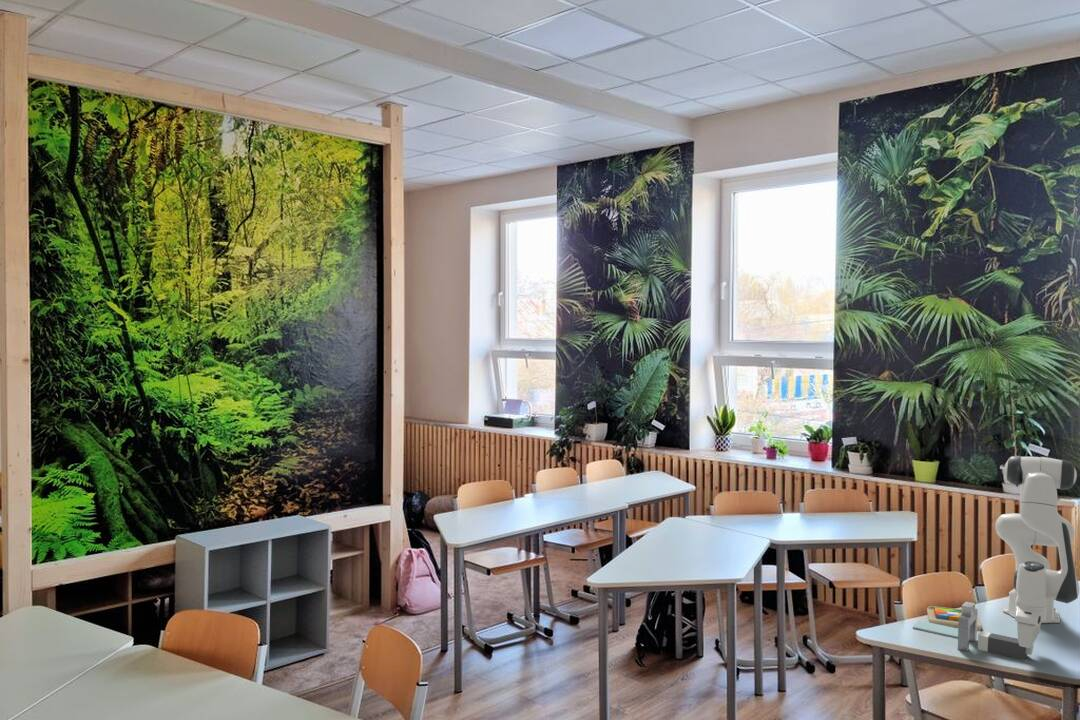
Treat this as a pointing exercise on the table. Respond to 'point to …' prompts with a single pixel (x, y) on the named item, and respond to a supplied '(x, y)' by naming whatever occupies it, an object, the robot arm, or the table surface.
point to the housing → (967, 626)
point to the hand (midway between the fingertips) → (1029, 653)
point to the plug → (1001, 645)
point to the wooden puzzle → (946, 616)
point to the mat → (936, 629)
